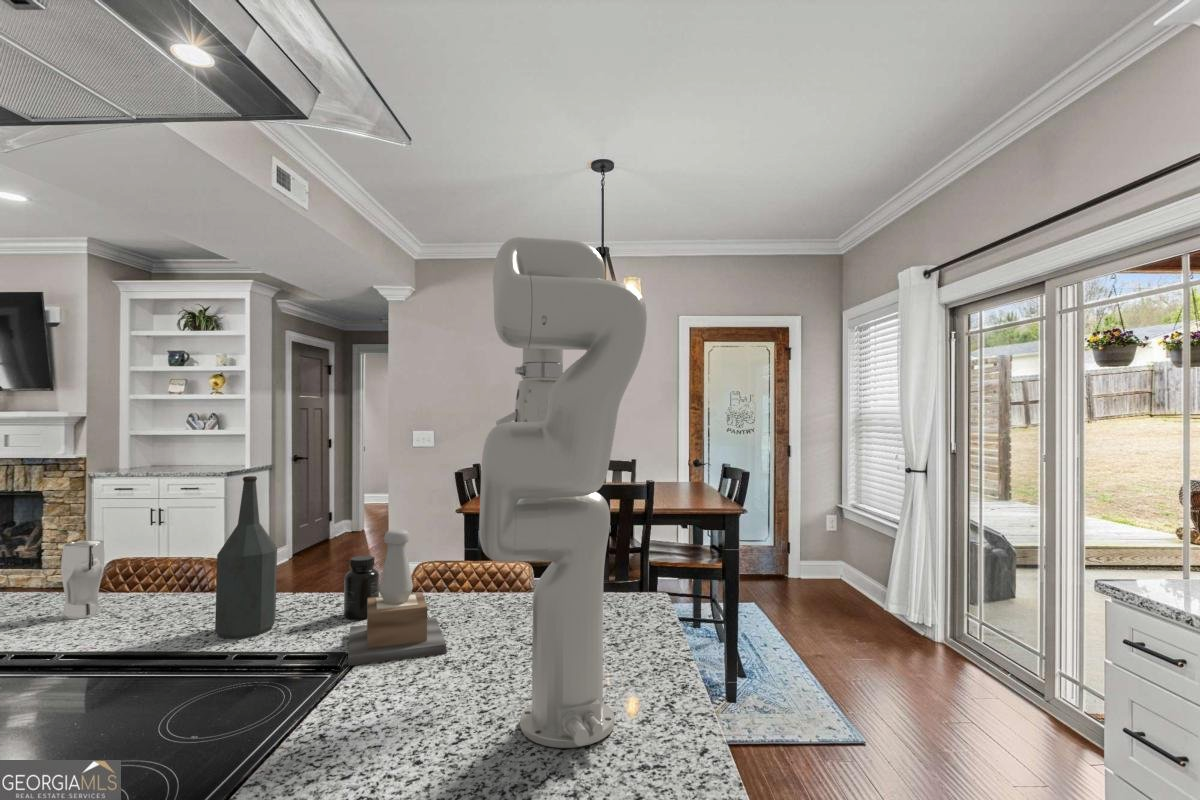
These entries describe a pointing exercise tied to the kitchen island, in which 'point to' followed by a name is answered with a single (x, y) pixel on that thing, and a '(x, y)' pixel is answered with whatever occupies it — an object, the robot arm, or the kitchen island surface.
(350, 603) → the supplement bottle
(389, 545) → the salt shaker
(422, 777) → the kitchen island surface
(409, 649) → the plinth
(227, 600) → the bottle
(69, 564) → the beer glass
